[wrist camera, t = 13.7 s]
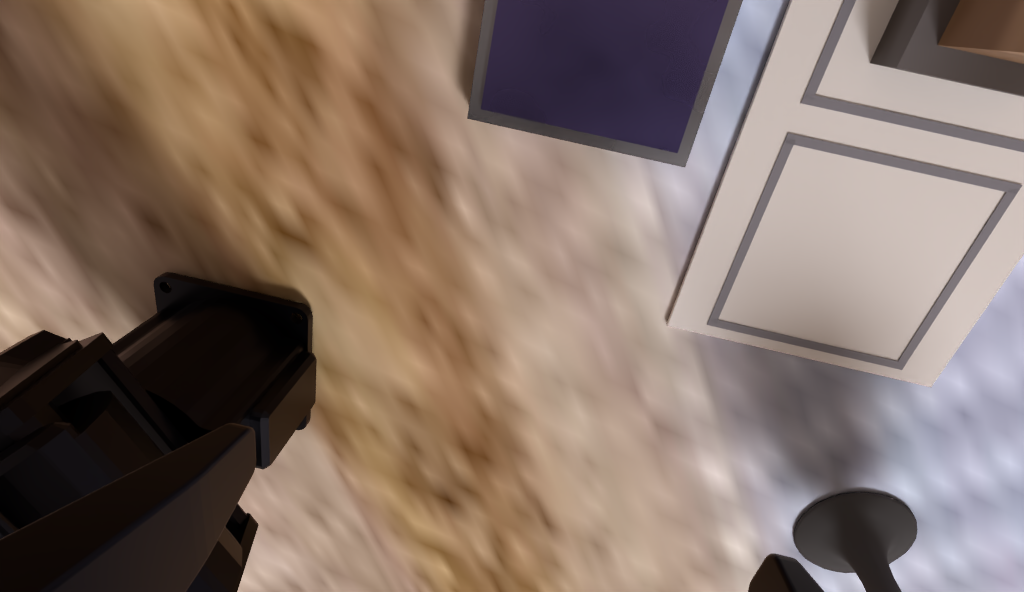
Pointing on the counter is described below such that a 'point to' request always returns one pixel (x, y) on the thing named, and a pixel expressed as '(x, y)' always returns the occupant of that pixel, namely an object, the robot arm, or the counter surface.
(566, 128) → the ink pad
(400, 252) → the counter surface
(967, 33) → the stamp
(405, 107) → the counter surface
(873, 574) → the sundae
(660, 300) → the counter surface
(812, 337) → the form sheet
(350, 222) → the counter surface
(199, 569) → the robot arm
